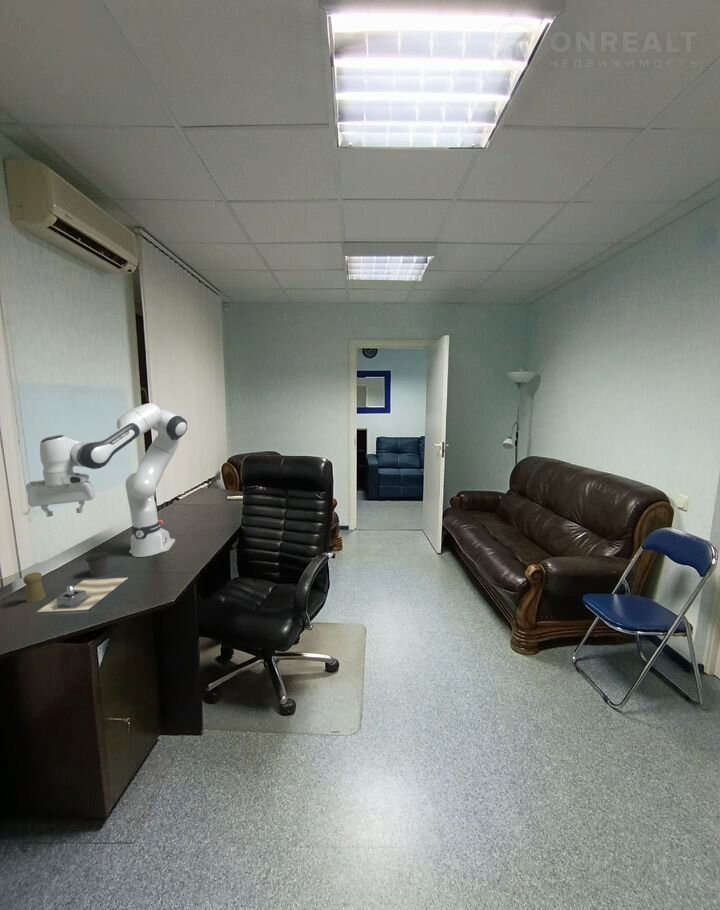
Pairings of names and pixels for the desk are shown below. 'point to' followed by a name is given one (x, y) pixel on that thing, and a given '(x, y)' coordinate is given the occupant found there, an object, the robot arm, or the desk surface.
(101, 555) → the coffee cup
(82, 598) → the link
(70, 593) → the post
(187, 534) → the desk surface
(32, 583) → the cork
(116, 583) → the board
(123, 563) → the desk surface
